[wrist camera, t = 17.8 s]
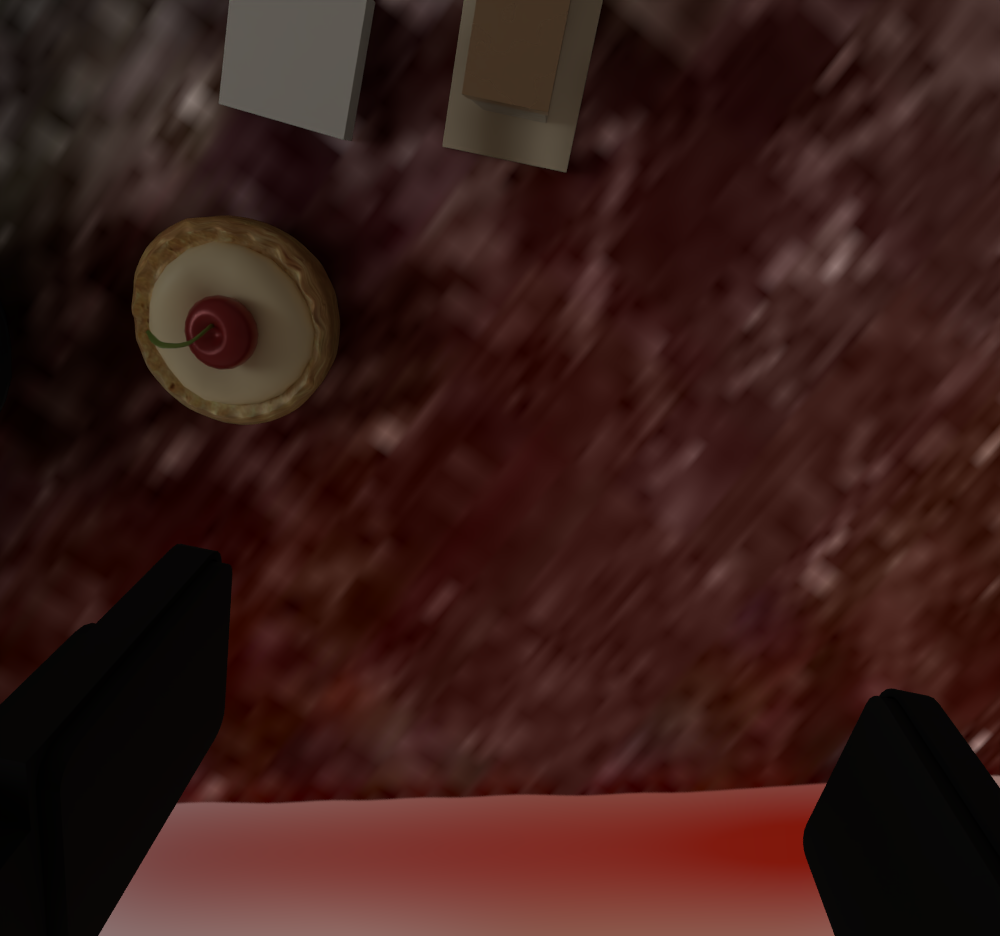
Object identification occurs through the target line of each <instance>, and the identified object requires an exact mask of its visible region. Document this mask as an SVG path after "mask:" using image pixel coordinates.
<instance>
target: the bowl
mask: <svg viewBox="0 0 1000 936" xmlns="http://www.w3.org/2000/svg"><path fill="white" fill-rule="evenodd" d="M11 377H12V375H11V342H10V337H9V331H8V325H7V319H6V314H5V312H4V309H3V306H2V304H1V301H0V411H1V409H2V407H3V405H4V403H5V401H6V397H7V393H8V389H9V385H10V381H11Z"/></svg>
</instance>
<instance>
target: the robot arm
mask: <svg viewBox="0 0 1000 936" xmlns="http://www.w3.org/2000/svg"><path fill="white" fill-rule="evenodd" d="M231 586H232V568H231V566H230V565H229V564H225V563H222V561H221V556H220V553H219V552H218V551H213V550H208V549H203V548H198V547H193V546H188V545H183V544H177V545H175V546H174V547H172V548H171V549H170V550H169V551H168V552H167V553H166V554H165V555H164V556H163V557H162V558H161V559H160V560H159V561H158V562H157V563H156V564H155V565H154V566H153V567H152V568H151V569H150V570H149V571H148V572H147V573H146V574H145V575H144V576H143V577H142V578H141V579H140V580H139V581H138V582H137V583H136V584H135V585H134V586H133V587H132V588H131V589H130V590H129V591H128V592H127V593H126V594H125V595H124V596H123V597H122V598H121V599H120V600H119V601H118V602H117V603H116V604H115V605H114V606H113V607H112V608H111V609H110V610H109V611H108V612H107V613H106V614H105V615H104V616H103V617H102V618H101V619H100V620H99V621H98V622H97V623H96V624H95V623H90V624H87V625H84V626H82V627H81V628H80V629H78V630H77V631H76V632H75V633H74V634H73V635H72V636H71V637H70V638H68V639H67V640H66V641H65V642H64V643H63V644H62V645H61V646H60V647H59V648H58V649H57V650H56V651H55V652H54V653H53V654H52V655H51V656H50V657H49V658H48V659H47V660H46V661H45V662H44V663H43V664H42V665H41V666H40V667H39V668H38V669H37V670H36V671H34V672H33V673H32V674H31V675H30V676H29V677H28V678H27V679H26V680H25V681H24V682H23V683H22V684H21V685H20V686H19V687H18V688H17V689H16V690H15V691H14V692H13V693H12V694H11V695H10V696H9V697H8V698H7V699H6V700H5V701H4V702H3V703H1V704H0V936H98V935H99V933H100V932H101V930H102V928H103V927H104V925H105V923H106V922H107V920H108V918H109V916H110V915H111V913H112V911H113V910H114V908H115V906H116V905H117V903H118V901H119V900H120V898H121V896H122V895H123V893H124V891H125V890H126V888H127V886H128V884H129V883H130V881H131V879H132V878H133V876H134V874H135V873H136V871H137V869H138V868H139V866H140V864H141V863H142V861H143V859H144V857H145V856H146V854H147V852H148V851H149V849H150V847H151V845H152V844H153V842H154V841H155V839H156V837H157V835H158V834H159V832H160V830H161V829H162V827H163V825H164V824H165V822H166V820H167V819H168V817H169V815H170V813H171V812H172V810H173V809H174V807H175V805H176V803H177V802H178V800H179V798H180V797H181V795H182V793H183V792H184V790H185V788H186V787H187V785H188V783H189V782H190V780H191V778H192V776H193V775H194V773H195V771H196V770H197V768H198V766H199V765H200V763H201V761H202V760H203V758H204V756H205V755H206V753H207V751H208V749H209V748H210V746H211V744H212V743H213V741H214V739H215V738H216V736H217V734H218V731H219V729H220V726H221V723H222V720H223V716H224V709H225V692H226V675H227V657H228V639H229V622H230V604H231ZM803 846H804V852H805V856H806V859H807V861H808V864H809V867H810V870H811V872H812V875H813V878H814V880H815V883H816V886H817V889H818V891H819V894H820V897H821V900H822V902H823V905H824V908H825V910H826V913H827V916H828V918H829V921H830V924H831V927H832V929H833V932H834V935H835V936H1000V788H999V786H998V785H997V783H996V782H995V781H994V780H993V778H992V777H991V775H990V774H989V772H988V771H987V770H986V768H985V767H984V765H983V764H982V763H981V761H980V760H979V759H978V757H977V756H976V754H975V753H974V752H973V750H972V749H971V747H970V746H969V745H968V743H967V742H966V741H965V739H964V738H963V736H962V735H961V734H960V732H959V731H958V729H957V728H956V727H955V725H954V724H953V723H952V721H951V720H950V718H949V717H948V716H947V714H946V713H945V711H944V710H943V709H942V707H941V706H940V705H939V703H938V702H937V701H936V700H935V699H934V698H932V697H929V696H926V695H921V694H916V693H911V692H906V691H902V690H897V689H886V690H885V691H883V692H882V693H881V694H880V696H873V697H872V698H870V699H869V700H868V702H867V703H866V705H865V707H864V709H863V711H862V713H861V715H860V718H859V720H858V722H857V724H856V726H855V728H854V730H853V732H852V734H851V736H850V738H849V740H848V742H847V744H846V746H845V748H844V750H843V752H842V754H841V756H840V758H839V760H838V762H837V764H836V766H835V768H834V770H833V772H832V774H831V776H830V778H829V780H828V782H827V784H826V786H825V788H824V790H823V792H822V794H821V796H820V798H819V800H818V802H817V804H816V806H815V809H814V811H813V813H812V814H811V816H810V818H809V820H808V823H807V824H806V827H805V830H804V836H803Z"/></svg>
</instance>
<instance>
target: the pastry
mask: <svg viewBox="0 0 1000 936" xmlns="http://www.w3.org/2000/svg"><path fill="white" fill-rule="evenodd" d="M131 308H132V314H133V316H134V321H135V333H136V340H137V342H138V345H139V347H140V350H141V352H142V355H143V358H144V361H145V363H146V365H147V367H148V369H149V370H150V371H151V373H152V374H153V376H154V377H155V378H156V379H157V380H158V381H159V383H160V384H161V385H162V386H163V387H164V388H165V389H166V390H167V391H168V392H169V393H170V394H171V395H172V396H173V397H174V398H175V399H177V400H178V401H179V402H180V403H182V404H183V405H185V406H186V407H188V408H189V409H191V410H193V411H195V412H197V413H200V414H202V415H205V416H207V417H210V418H212V419H215V420H219V421H222V422H226V423H233V424H241V425H247V424H259V423H265V422H269V421H273V420H275V419H278V418H280V417H282V416H285V415H287V414H289V413H291V412H292V411H294V410H296V409H298V408H299V407H300V406H301V405H302V404H303V403H304V402H305V401H307V400H308V398H309V397H310V396H311V395H312V394H313V393H314V392H315V391H316V389H317V388H318V387H319V386H320V385H321V383H322V382H323V381H324V379H325V377H326V376H327V374H328V372H329V370H330V368H331V366H332V364H333V362H334V360H335V358H336V355H337V350H338V345H339V335H340V316H339V310H338V303H337V297H336V293H335V290H334V288H333V285H332V283H331V281H330V279H329V278H328V275H327V273H326V271H325V269H324V268H323V266H322V264H321V263H320V262H319V260H318V259H317V258H316V257H315V256H314V255H313V254H312V253H311V252H310V251H309V250H308V249H307V248H306V247H305V246H304V245H303V244H302V243H300V242H299V241H298V240H297V239H295V238H294V237H292V236H291V235H289V234H288V233H286V232H284V231H282V230H280V229H278V228H276V227H274V226H272V225H269V224H267V223H264V222H261V221H257V220H253V219H249V218H244V217H237V216H213V217H200V218H188V219H185V220H182V221H180V222H178V223H176V224H174V225H172V226H171V227H169V228H167V229H166V230H164V231H163V232H161V233H160V234H159V235H158V236H157V237H156V238H155V239H154V240H153V241H152V242H151V243H150V244H149V245H148V247H147V248H146V250H145V252H144V253H143V255H142V257H141V259H140V261H139V264H138V266H137V269H136V272H135V276H134V290H133V298H132V307H131Z"/></svg>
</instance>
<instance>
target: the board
mask: <svg viewBox="0 0 1000 936" xmlns="http://www.w3.org/2000/svg"><path fill="white" fill-rule="evenodd" d="M602 2H603V0H571V5H570V10H569V15H568V20H567V25H566V30H565V35H564V40H563V45H562V50H561V55H560V60H559V65H558V70H557V75H556V80H555V85H554V90H553V95H552V100H551V105H550V110H549V115H548V117H547V122H546V123H543V122H538V121H533V120H529V119H524V118H519V117H515V116H510V115H505V114H501V113H496V112H491V111H486V110H483V109H482V108H480V107H479V106H478V105H477V104H476V103H474V102H473V101H472V100H471V99H468V98H466V97H465V96H464V95H462V89H463V82H464V76H465V70H466V63H467V57H468V50H469V44H470V37H471V31H472V25H473V18H474V12H475V5H476V0H464V4H463V10H462V17H461V24H460V31H459V37H458V44H457V51H456V58H455V65H454V71H453V78H452V85H451V92H450V98H449V105H448V112H447V119H446V125H445V132H444V139H443V147H447V148H452V149H457V150H462V151H467V152H471V153H476V154H481V155H486V156H490V157H495V158H500V159H505V160H509V161H514V162H519V163H524V164H528V165H533V166H538V167H543V168H547V169H552V170H557V171H562V172H566V171H567V167H568V162H569V157H570V153H571V148H572V143H573V138H574V134H575V129H576V124H577V120H578V115H579V110H580V105H581V101H582V96H583V91H584V87H585V82H586V77H587V72H588V68H589V63H590V58H591V54H592V49H593V44H594V39H595V35H596V30H597V25H598V21H599V16H600V11H601V6H602Z"/></svg>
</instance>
